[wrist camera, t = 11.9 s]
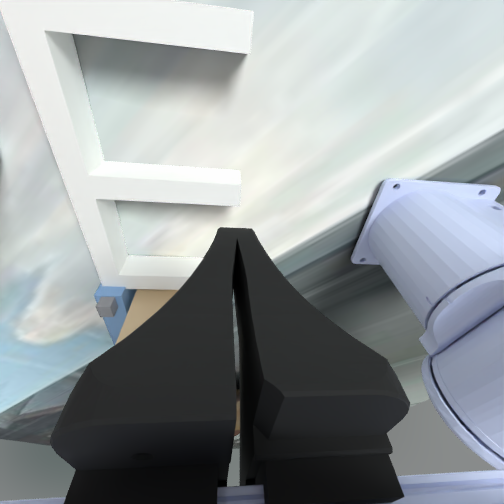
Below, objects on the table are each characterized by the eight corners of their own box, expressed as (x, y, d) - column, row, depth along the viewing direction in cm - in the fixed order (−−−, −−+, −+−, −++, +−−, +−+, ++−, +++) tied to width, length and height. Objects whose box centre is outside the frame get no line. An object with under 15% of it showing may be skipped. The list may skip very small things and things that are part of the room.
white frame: (250, 16, 13) (257, 4, 10) (230, 324, 29) (230, 362, 25) (21, -14, 12) (-67, -40, 8) (129, 323, 28) (114, 364, 24)
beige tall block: (187, 276, 24) (168, 371, 17) (189, 305, 26) (174, 398, 19) (142, 275, 24) (104, 372, 16) (149, 304, 26) (118, 399, 19)
